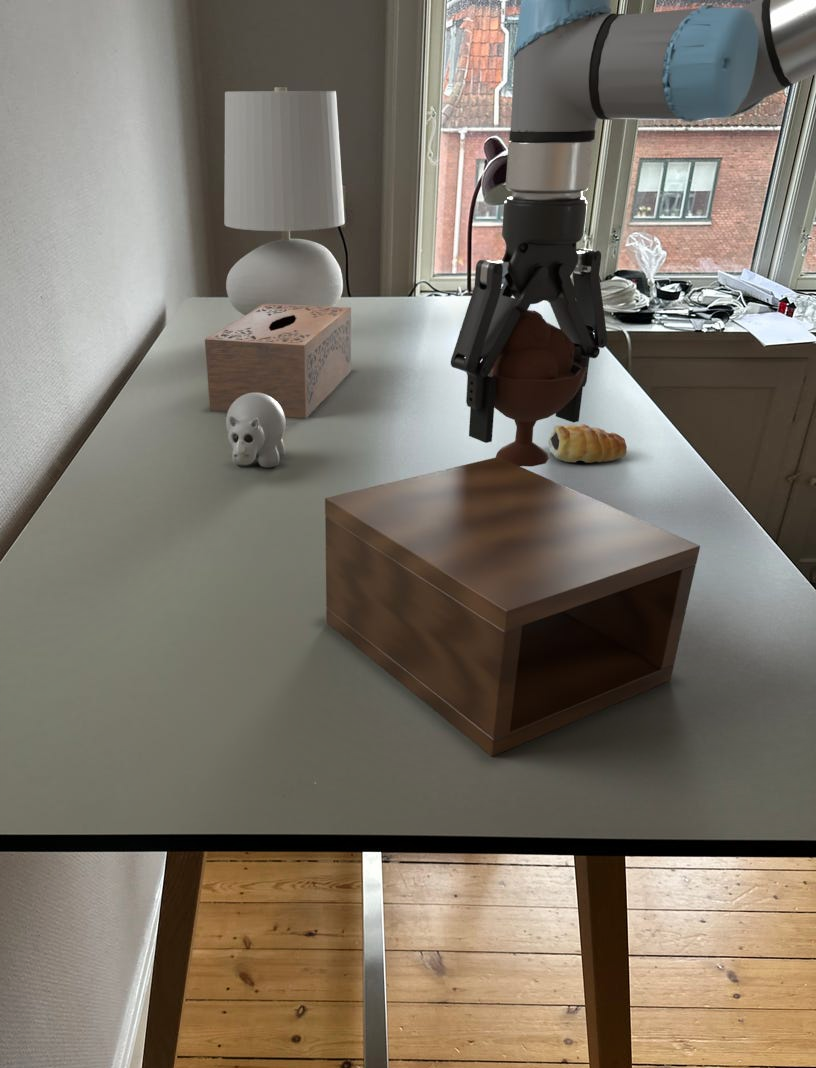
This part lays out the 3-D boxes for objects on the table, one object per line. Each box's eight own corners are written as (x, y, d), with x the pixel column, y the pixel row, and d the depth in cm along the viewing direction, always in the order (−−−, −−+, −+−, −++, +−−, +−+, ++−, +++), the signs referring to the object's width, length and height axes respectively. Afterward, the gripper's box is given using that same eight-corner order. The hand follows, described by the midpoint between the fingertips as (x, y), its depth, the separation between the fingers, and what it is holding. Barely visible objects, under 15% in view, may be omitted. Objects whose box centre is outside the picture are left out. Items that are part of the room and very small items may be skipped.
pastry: (615, 446, 118) (620, 417, 116) (632, 465, 112) (638, 434, 110) (543, 447, 118) (547, 418, 116) (557, 466, 112) (561, 436, 110)
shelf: (671, 680, 71) (700, 545, 65) (491, 757, 63) (507, 611, 57) (487, 572, 87) (498, 456, 81) (326, 622, 79) (324, 497, 73)
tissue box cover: (267, 366, 153) (264, 303, 148) (350, 371, 150) (351, 307, 145) (210, 410, 132) (204, 339, 127) (306, 418, 129) (304, 345, 124)
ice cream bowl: (541, 483, 90) (557, 325, 82) (449, 459, 97) (456, 310, 89) (595, 456, 97) (614, 307, 89) (505, 435, 103) (516, 294, 96)
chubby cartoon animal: (209, 484, 107) (203, 413, 103) (237, 450, 117) (233, 383, 113) (269, 488, 106) (266, 416, 102) (292, 453, 116) (290, 386, 112)
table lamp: (254, 352, 162) (241, 87, 141) (207, 328, 178) (189, 88, 157) (366, 336, 171) (369, 86, 151) (312, 316, 187) (308, 87, 167)
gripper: (608, 185, 92) (581, 401, 103) (417, 199, 81) (411, 439, 93) (667, 189, 86) (632, 418, 98) (471, 206, 76) (457, 460, 87)
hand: (524, 428), depth 95 cm, fingers closed on ice cream bowl, 11 cm apart
